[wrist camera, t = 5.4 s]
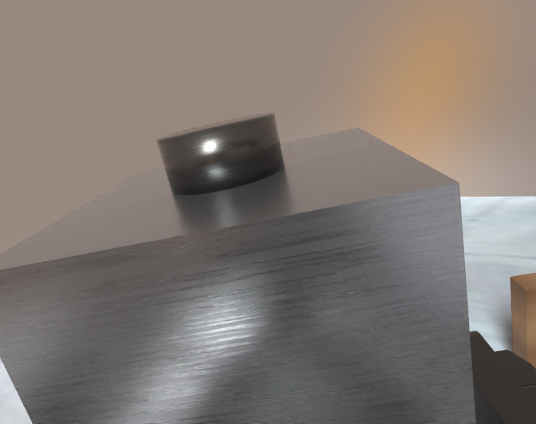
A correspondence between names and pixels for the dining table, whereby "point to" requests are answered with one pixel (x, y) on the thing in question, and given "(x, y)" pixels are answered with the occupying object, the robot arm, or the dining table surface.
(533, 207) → the dining table surface
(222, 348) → the brushed steel pillar
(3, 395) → the dining table surface
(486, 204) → the dining table surface
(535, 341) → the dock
